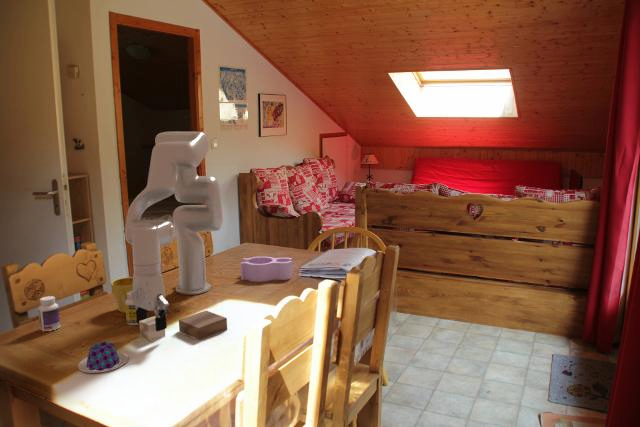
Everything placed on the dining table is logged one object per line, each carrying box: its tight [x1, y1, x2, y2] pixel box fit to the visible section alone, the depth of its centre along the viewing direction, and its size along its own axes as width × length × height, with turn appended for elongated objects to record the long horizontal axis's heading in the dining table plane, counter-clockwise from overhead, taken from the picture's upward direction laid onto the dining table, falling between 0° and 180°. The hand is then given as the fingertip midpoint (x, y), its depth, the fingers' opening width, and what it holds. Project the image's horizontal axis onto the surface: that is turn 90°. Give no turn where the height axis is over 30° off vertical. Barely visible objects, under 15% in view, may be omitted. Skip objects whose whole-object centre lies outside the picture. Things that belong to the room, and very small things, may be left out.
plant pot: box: [110, 276, 133, 314], centre depth 176 cm, size 10×10×10 cm
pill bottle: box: [37, 295, 61, 332], centre depth 160 cm, size 5×5×10 cm
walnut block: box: [178, 310, 228, 341], centre depth 158 cm, size 10×10×4 cm
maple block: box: [139, 315, 166, 342], centre depth 154 cm, size 5×5×5 cm
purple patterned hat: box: [77, 341, 128, 374], centre depth 137 cm, size 12×12×5 cm
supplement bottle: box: [125, 291, 140, 326], centre depth 165 cm, size 5×5×10 cm
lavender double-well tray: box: [240, 256, 294, 283], centre depth 211 cm, size 20×12×7 cm, turn 90°
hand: (151, 325), depth 153 cm, fingers open, 9 cm apart
